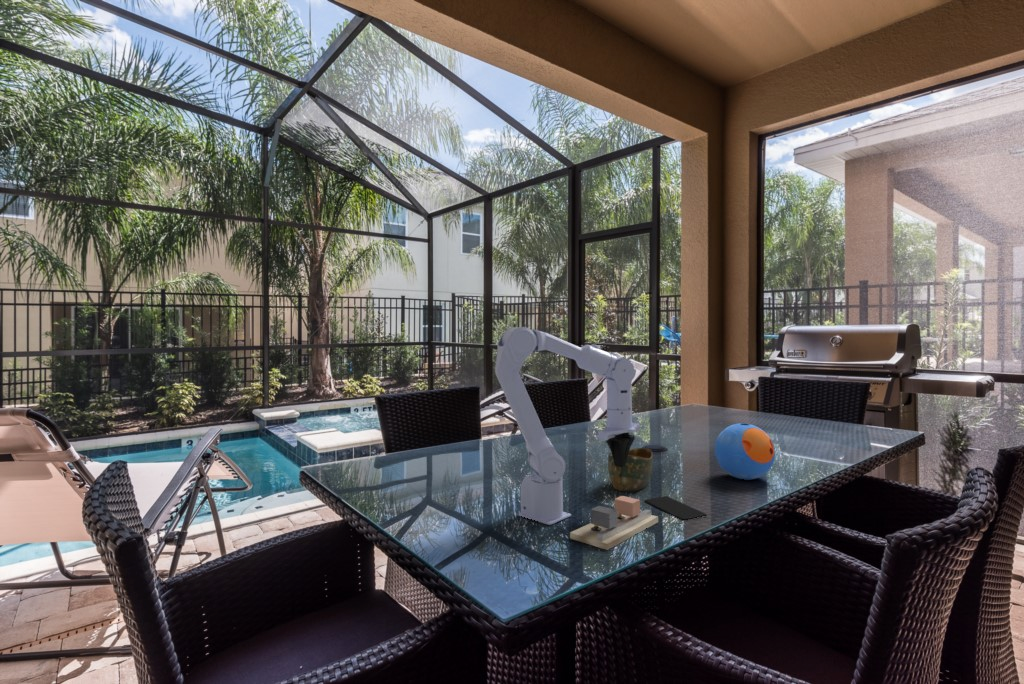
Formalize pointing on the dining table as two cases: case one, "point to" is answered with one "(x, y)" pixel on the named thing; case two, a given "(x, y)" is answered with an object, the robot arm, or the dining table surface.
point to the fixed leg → (604, 517)
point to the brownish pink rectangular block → (627, 506)
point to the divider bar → (623, 525)
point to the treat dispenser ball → (744, 451)
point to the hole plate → (590, 536)
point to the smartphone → (675, 508)
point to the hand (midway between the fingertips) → (620, 466)
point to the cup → (632, 470)
